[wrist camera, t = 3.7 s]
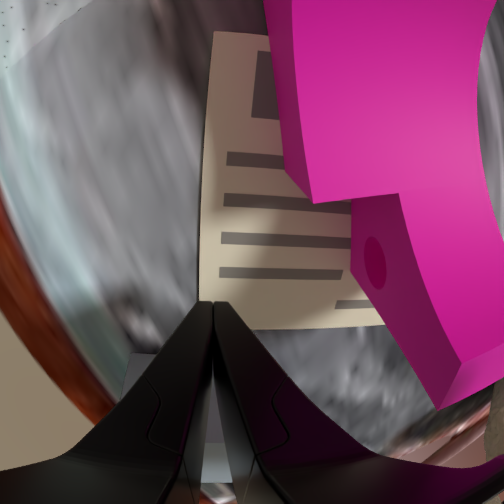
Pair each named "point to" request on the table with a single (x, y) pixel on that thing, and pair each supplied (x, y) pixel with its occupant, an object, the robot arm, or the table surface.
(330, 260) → the letter
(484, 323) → the toy block
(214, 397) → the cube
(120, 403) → the robot arm
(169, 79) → the table surface
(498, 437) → the fossil replica
